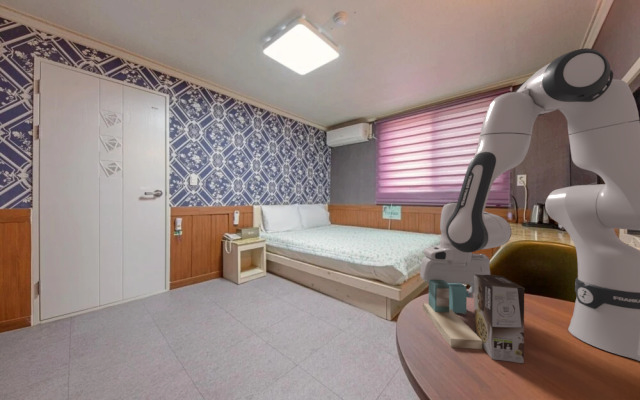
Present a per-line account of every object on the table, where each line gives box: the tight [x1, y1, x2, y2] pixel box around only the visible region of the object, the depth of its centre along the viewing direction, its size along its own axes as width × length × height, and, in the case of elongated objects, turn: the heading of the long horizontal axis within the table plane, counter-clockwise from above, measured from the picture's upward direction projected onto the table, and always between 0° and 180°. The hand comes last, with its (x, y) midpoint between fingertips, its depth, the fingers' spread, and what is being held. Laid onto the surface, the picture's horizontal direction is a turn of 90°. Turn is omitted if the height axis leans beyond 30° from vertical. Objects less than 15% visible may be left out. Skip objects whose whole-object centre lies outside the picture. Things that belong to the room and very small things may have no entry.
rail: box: [422, 280, 483, 350], centre depth 64 cm, size 7×19×10 cm, turn 175°
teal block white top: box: [448, 283, 468, 314], centre depth 75 cm, size 4×6×8 cm
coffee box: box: [473, 274, 526, 364], centre depth 55 cm, size 9×6×16 cm
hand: (453, 296), depth 74 cm, fingers open, 8 cm apart
